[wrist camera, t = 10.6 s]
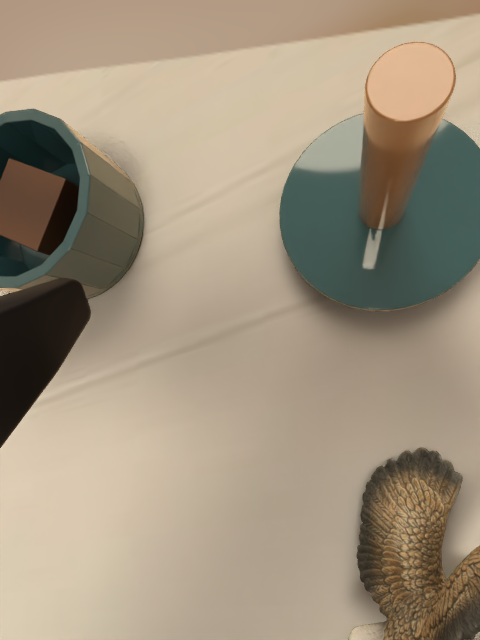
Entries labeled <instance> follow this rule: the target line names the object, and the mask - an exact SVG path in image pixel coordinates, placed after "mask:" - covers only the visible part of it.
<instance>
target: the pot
mask: <svg viewBox="0 0 480 640" xmlns="http://www.w3.org/2000/svg"><path fill="white" fill-rule="evenodd" d="M9 158H11V159H13V160H16V161H19V162H22V163H24V164H27V165H30V166H32V167H35V168H38V169H41V170H43V171H46V172H49V173H51V174H54V175H57V176H60V177H62V178H65V179H67V180H69V181H70V182H72V183H73V184H75V185H77V186H78V187H79V194H78V205H77V212H76V214H75V216H74V218H73V220H72V223H71V225H70V227H69V229H68V232H67V234H66V236H65V238H64V241H63V242H62V243H61V244H60V246H59V247H58V248H57V249H56V250H55V251H54V252H53V253H52V254H51V255H50V256H49V255H46V254H43V253H40V252H37V251H35V250H32V249H30V248H28V247H26V246H23V245H21V244H19V243H17V242H14V241H12V240H10V239H8V238H5V237H3V236H1V235H0V290H4V291H9V292H16V291H19V290H23V289H26V288H29V287H32V286H36V285H39V284H42V283H45V282H49V281H52V280H55V279H58V278H70V279H75V280H78V281H80V283H81V284H82V285H83V288H84V291H85V294H86V297H87V299H89V298H92V297H95V296H97V295H99V294H101V293H103V292H105V291H106V290H108V289H109V288H111V287H112V286H113V285H114V284H116V283H117V282H118V281H119V280H120V279H121V278H122V276H123V275H124V274H125V273H126V272H127V270H128V269H129V267H130V266H131V264H132V262H133V260H134V258H135V256H136V254H137V251H138V249H139V246H140V242H141V238H142V232H143V209H142V204H141V200H140V197H139V194H138V192H137V189H136V188H135V186H134V184H133V182H132V181H131V180H130V178H129V177H128V176H127V175H126V174H125V173H124V172H123V171H122V170H121V169H120V168H119V167H118V166H117V165H116V163H115V162H113V161H112V160H111V159H110V158H108V157H107V156H106V155H105V154H103V153H102V152H101V151H100V150H98V149H97V148H96V147H95V146H94V145H92V144H91V143H90V142H89V141H87V140H86V139H85V138H84V137H82V136H81V135H80V134H79V133H78V132H76V131H75V130H74V129H73V128H71V127H70V126H69V125H68V124H66V123H65V122H64V121H63V120H61V119H60V118H57V117H54V116H52V115H49V114H47V113H44V112H41V111H39V110H36V109H27V110H18V111H10V112H5V113H3V114H1V115H0V180H1V177H2V175H3V172H4V170H5V167H6V164H7V162H8V159H9Z"/></svg>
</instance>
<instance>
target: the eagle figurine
mask: <svg viewBox="0 0 480 640" xmlns="http://www.w3.org/2000/svg"><path fill="white" fill-rule="evenodd" d="M461 483H462V476H461V475H460V474H459V473H457V472H454V470H453V466H452V464H451V462H449V461H442V460H441V456H440V454H439V453H438V452H437V451H431V452H428V451H427V449H425V448H419V449H417V450H416V451H415V452H414V453H411V452H410V451H405V452H403V453H402V454H401V455H400V456H399V458H398V461H397V462H395V461H394V460H393V459H389V460H387V463H386V465H385V467H383V466H380V467H378V468H377V469H376V471H375V472H374V473H373V475H372V477H371V480H370V481H369V482H367V485H366V491H365V492H364V493H363V502H364V504H363V506H362V512H361V520H362V522H363V523H362V524H361V526H360V535H359V539H360V545H358V552H357V559H358V568H359V570H360V579H361V581H362V582H363V583H364V587H365V589H366V590H367V591H368V592H370V593H371V595H372V598H373V600H374V601H375V602H376V603H378V604H379V607H380V612H381V613H382V614H384V615H385V616H386V617H387V621H385V622H383V623H382V622H380V623H374V624H368V625H361V626H357V627H355V628H353V630H352V632H351V634H350V637H349V640H473V639H474V637H475V635H476V634H477V633H478V632H480V546H479V547H477V548H475V549H474V550H473V551H472V552H471V553H470V554H469V555H468V556H467V557H466V558H465V559H464V560H463V561H462V563H461V564H460V565H459V566H458V567H457V568H456V569H455V571H454V572H453V573H452V574H451V576H450V577H449V578H448V579H446V578H445V576H444V573H443V570H442V563H441V547H442V542H443V536H444V532H445V526H446V522H447V516H448V514H449V512H450V510H451V507H452V505H453V504H454V502H455V499H456V496H457V494H458V492H459V490H460V488H461Z"/></svg>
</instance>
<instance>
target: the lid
mask: <svg viewBox="0 0 480 640" xmlns="http://www.w3.org/2000/svg"><path fill="white" fill-rule="evenodd" d="M455 81H456V73H455V68H454V65H453V63H452V61H451V59H450V57H449V56H448V55H447V54H446V53H445V52H444V51H443V50H442V49H440V48H439V47H437V46H435V45H432V44H429V43H424V42H411V43H405V44H402V45H399V46H397V47H394V48H392V49H391V50H389V51H387V52H386V53H385V54H383V55H382V56H381V57H380V58H379V59H378V60H377V61H376V62H375V64H374V65H373V66H372V68H371V70H370V72H369V74H368V76H367V79H366V84H365V97H364V113H363V114H359V115H356V116H354V117H351V118H349V119H346V120H344V121H342V122H340V123H338V124H337V125H335V126H333V127H331V128H330V129H329V130H327V131H326V132H324V133H323V134H321V135H320V136H319V137H318V138H317V139H316V140H315V141H313V142H312V143H311V144H310V145H309V146H308V148H307V149H306V150H305V151H304V152H303V153H302V155H301V156H300V157H299V159H298V160H297V162H296V163H295V165H294V166H293V168H292V170H291V172H290V174H289V176H288V178H287V181H286V183H285V186H284V189H283V193H282V197H281V203H280V229H281V236H282V239H283V243H284V246H285V249H286V251H287V253H288V256H289V258H290V260H291V261H292V263H293V265H294V266H295V268H296V270H297V271H298V272H299V273H300V275H301V276H302V277H303V278H304V280H305V281H306V282H307V283H309V284H310V285H311V286H312V287H313V288H314V289H315V290H317V291H318V292H320V293H321V294H322V295H324V296H325V297H327V298H329V299H331V300H333V301H335V302H337V303H340V304H342V305H345V306H348V307H351V308H356V309H360V310H368V311H394V310H401V309H406V308H410V307H413V306H417V305H420V304H423V303H425V302H427V301H430V300H432V299H434V298H436V297H438V296H439V295H441V294H443V293H445V292H446V291H448V290H449V289H451V288H452V287H453V286H455V285H456V284H457V283H458V282H460V281H461V280H462V279H463V278H464V277H465V276H466V275H467V274H468V273H469V272H470V271H471V270H472V269H473V267H474V266H475V265H476V264H477V262H478V261H479V260H480V148H479V147H478V146H477V145H476V143H475V142H474V141H473V140H472V139H471V138H470V137H469V136H468V135H467V134H466V133H465V132H463V131H462V130H461V129H459V128H458V127H456V126H455V125H454V124H452V123H450V122H448V121H446V120H444V119H442V118H443V115H444V113H445V110H446V108H447V105H448V103H449V100H450V98H451V95H452V93H453V90H454V87H455Z"/></svg>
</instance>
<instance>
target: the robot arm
mask: <svg viewBox="0 0 480 640" xmlns="http://www.w3.org/2000/svg"><path fill="white" fill-rule="evenodd" d="M90 315H91V309H90V306H89V303H88V300H87V297H86V294H85V291H84V288H83V285H82V284H81V283H80V281H78V280H75V279H70V278H58V279H55V280H52V281H49V282H45V283H42V284H39V285H36V286H32V287H29V288H26V289H23V290H19V291H16V292H13V293H9V294H6V295H3V296H0V448H1V447H2V445H3V444H4V443H5V441H6V440H7V439H8V437H9V436H10V435H11V433H12V432H13V431H14V429H15V428H16V427H17V425H18V424H19V423H20V421H21V420H22V418H23V417H24V416H25V414H26V413H27V412H28V410H29V409H30V408H31V406H32V405H33V404H34V402H35V401H36V400H37V398H38V397H39V396H40V394H41V393H42V392H43V390H44V389H45V388H46V386H47V385H48V384H49V382H50V381H51V380H52V378H53V377H54V376H55V374H56V373H57V371H58V370H59V368H60V367H61V365H62V364H63V362H64V360H65V359H66V357H67V355H68V354H69V352H70V350H71V349H72V347H73V346H74V344H75V342H76V341H77V339H78V337H79V336H80V334H81V332H82V331H83V329H84V327H85V326H86V324H87V322H88V321H89V319H90Z"/></svg>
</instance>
